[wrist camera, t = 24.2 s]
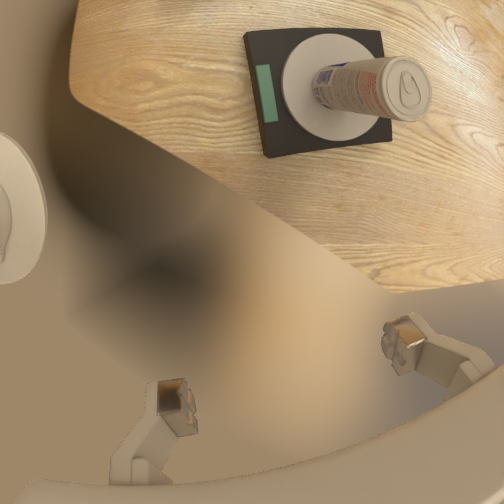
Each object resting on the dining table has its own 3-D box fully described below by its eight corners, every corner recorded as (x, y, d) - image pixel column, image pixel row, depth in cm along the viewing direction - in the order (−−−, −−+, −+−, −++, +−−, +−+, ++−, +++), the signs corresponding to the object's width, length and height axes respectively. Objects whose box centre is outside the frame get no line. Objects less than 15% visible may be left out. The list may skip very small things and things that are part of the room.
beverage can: (335, 118, 34) (412, 136, 21) (301, 89, 32) (369, 88, 19) (360, 87, 32) (444, 91, 19) (328, 56, 30) (405, 42, 17)
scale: (263, 155, 38) (270, 160, 35) (243, 36, 30) (247, 30, 27) (383, 138, 40) (396, 142, 37) (371, 33, 32) (384, 29, 29)
